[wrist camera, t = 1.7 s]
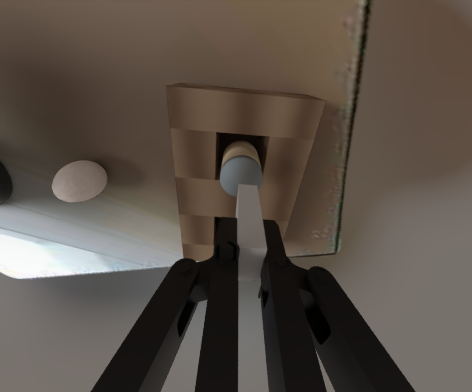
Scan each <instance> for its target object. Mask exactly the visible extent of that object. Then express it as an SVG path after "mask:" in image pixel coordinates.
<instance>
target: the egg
mask: <svg viewBox="0 0 472 392" xmlns="http://www.w3.org/2000/svg"><path fill="white" fill-rule="evenodd" d="M106 184H107V174H106V172H105V170H104V169H103V167H101V166H100V165H99V164H97V163H95V162H92V161H86V160H81V161H75V162H72V163H69V164H67V165H65V166H64V167H62V168H61V169H60V170H59V171H58V172H57V174H56V175H55V177H54V179H53V183H52V190H53V193H54V194H55V196H56V197H57V198H59V199H60V200H63V201H65V202H71V203H74V202H82V201H86V200H89V199H92V198H94V197H95V196H97V195H98V194H99V193H101V192H102V191H103V189H104V188H105V186H106Z"/></svg>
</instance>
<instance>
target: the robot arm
mask: <svg viewBox="0 0 472 392" xmlns="http://www.w3.org/2000/svg"><path fill="white" fill-rule="evenodd" d="M11 192H12V185H11V181H10V178H9V175H8V173H7V172H6V170H5V168H4V167H3V165H2V164H1V163H0V204H1V203H2V202H4V201H6V200H7V199H8V198H9V197H10V195H11ZM260 276H261V286H260V291H259V294H258V298H260V296H261V307H262V319H263V330H264V341H265V351H266V364H267V375H268V386H269V392H327V391H326V387H325V383H324V380H323V376H322V372H321V369H320V365H319V361H318V357H317V354H316V351H317V353H318V355H319V358H320V360H321V362H322V364H323V366H324V368H325V371H326V373H327V375H328V377H329V379H330V381H331V383H332V386H333V388H334V390H335V392H415V390H414V389H413V388H412V386H411V385H410V383H409V382H408V381H407V379H406V378H405V376H404V375H403V374H402V372H401V371H400V370H399V368H398V367H397V365H396V364H395V362H394V361H393V360H392V358H391V357H390V355H389V354H388V353H387V351H386V350H385V348H384V347H383V345H382V344H381V343H380V341H379V340H378V339H377V337H376V336H375V334H374V333H373V332H372V330H371V329H370V327H369V326H368V324H367V323H366V322H365V320H364V319H363V317H362V316H361V315H360V313H359V312H358V310H357V309H356V308H355V306H354V305H353V303H352V302H351V300H350V299H349V298H348V297H347V295H346V293H345V292H344V291H343V289H342V288H341V286H340V285H339V284H338V282H337V281H336V279H335V278H334V277H333V275H332V274H331V273H330V272H329V271H327V270H326V269H324V268H322V267H319V266H314V267H311V268H310V269H309V270H306V269H303V268H301V267H298V266H296V265H294V264H293V263H291V261H290V259H289V258H288V257H287V256H286V253H285V249H284V245H283V241H282V237H281V233H280V229H279V226H278V224H277V223H276V222H275V220H266V219H262V213H261V206H260V200H259V193H258V187H257V185H244V184H239V186H238V196H237V205H236V218H233V217H222V219H221V220H220V221H219V227H218V234H217V242H216V244H215V246H214V252H213V256H212V257H211V258H209V259H207V260H205V261H201V262H196V261H195V260H193V259H191V258H184V259H180V260H178V261H177V262H175V264H174V265H173V266H172V267H171V269H170V271H169V272H168V274H167V275H166V277H165V278H164V280H163V281H162V283H161V284H160V286H159V287H158V289H157V290H156V292H155V294H154V295H153V297H152V298H151V300H150V301H149V303H148V304H147V306H146V307H145V309H144V310H143V312H142V314H141V315H140V317H139V318H138V320H137V321H136V323H135V324H134V326H133V327H132V329H131V330H130V332H129V334H128V335H127V337H126V338H125V340H124V341H123V343H122V344H121V346H120V348H119V349H118V350H117V352H116V354H115V355H114V357H113V358H112V360H111V361H110V363H109V364H108V366H107V367H106V369H105V371H104V372H103V374H102V375H101V377H100V378H99V380H98V381H97V383H96V384H95V386H94V387H93V389H92V391H91V392H160V391H161V389H162V387H163V384H164V382H165V380H166V378H167V375H168V373H169V370H170V368H171V366H172V363H173V361H174V359H175V356H176V354H177V352H178V349H179V347H180V344H181V342H182V340H183V338H184V335H185V333H186V331H187V328H188V326H189V324H190V321H191V319H192V317H193V314H194V312H195V310H196V307H197V305H198V302H200V301H204V300H207V299H208V300H207V307H206V315H205V322H204V329H203V336H202V343H201V350H200V357H199V365H198V372H197V379H196V386H195V392H238V280H252V281H259V280H260ZM315 349H316V350H315Z"/></svg>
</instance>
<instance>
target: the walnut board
mask: <svg viewBox="0 0 472 392" xmlns="http://www.w3.org/2000/svg"><path fill="white" fill-rule="evenodd" d="M166 92H167V102H168V111H169V121H170V131H171V140H172V150H173V160H174V169H175V179H176V189H177V198H178V208H179V218H180V227H181V237H182V246H183V256H184V258H191V259H193V260H195V261H205V260H207V259H209V258H211V257H212V256H213V252H214V246H215V244H216V242H217V234H218V227H219V221H217V217H233V218H236V205H237V197H234V196H232V195H230V194H228V193H227V192H226V191H225V190H224V189H223V188H222V186H221V183H220V173H221V167H222V162H219V141H220V132H222V133H234V134H246V135H258V136H262V139H261V145H260V152H259V161H260V165H261V169H262V173H263V182H262V185H261V187H260V189H259V190H258V193H259V200H260V206H261V213H262V219H266V220H275V222H276V223H277V224H278V226H279V229H280V233H281V237H282V241H283V240H284V237H285V234H286V230H287V227H288V224H289V220H290V217H291V214H292V211H293V207H294V204H295V201H296V198H297V194H298V191H299V188H300V184H301V181H302V178H303V175H304V171H305V168H306V165H307V162H308V158H309V155H310V152H311V148H312V145H313V142H314V139H315V135H316V132H317V129H318V126H319V122H320V119H321V116H322V112H323V109H324V106H325V103H326V101H325V100H322V99H319V98H316V97H312V96H309V95H303V94H292V93H281V92H271V91H260V90H249V89H239V88H228V87H217V86H207V85H196V84H185V83H179V84H174V85H168V86H166Z"/></svg>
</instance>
